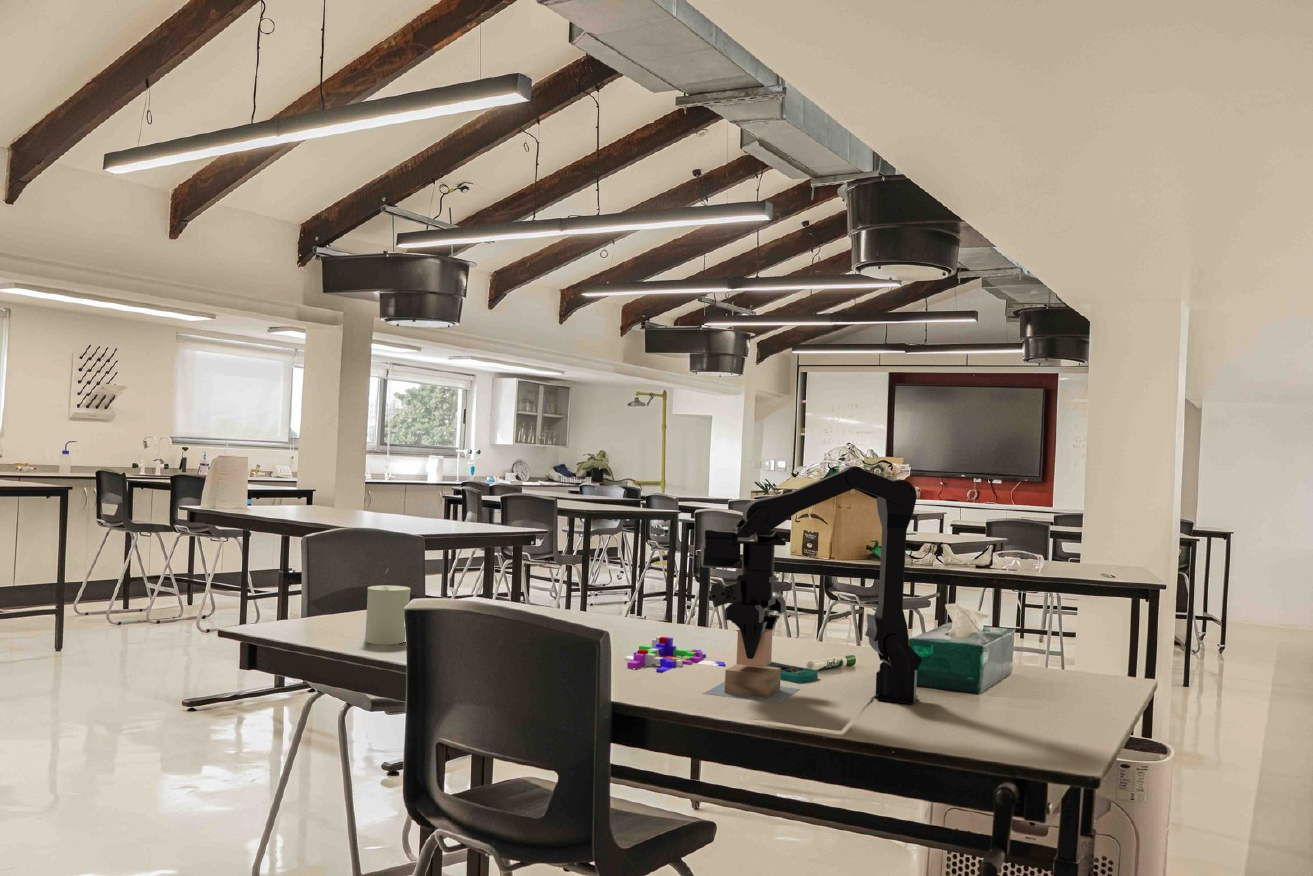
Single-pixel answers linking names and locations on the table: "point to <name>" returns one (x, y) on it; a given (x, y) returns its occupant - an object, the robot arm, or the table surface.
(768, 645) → the terracotta cube
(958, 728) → the table surface
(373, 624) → the can
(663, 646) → the building block set
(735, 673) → the walnut base block
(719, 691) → the grey flat square plate
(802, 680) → the digital multimeter
